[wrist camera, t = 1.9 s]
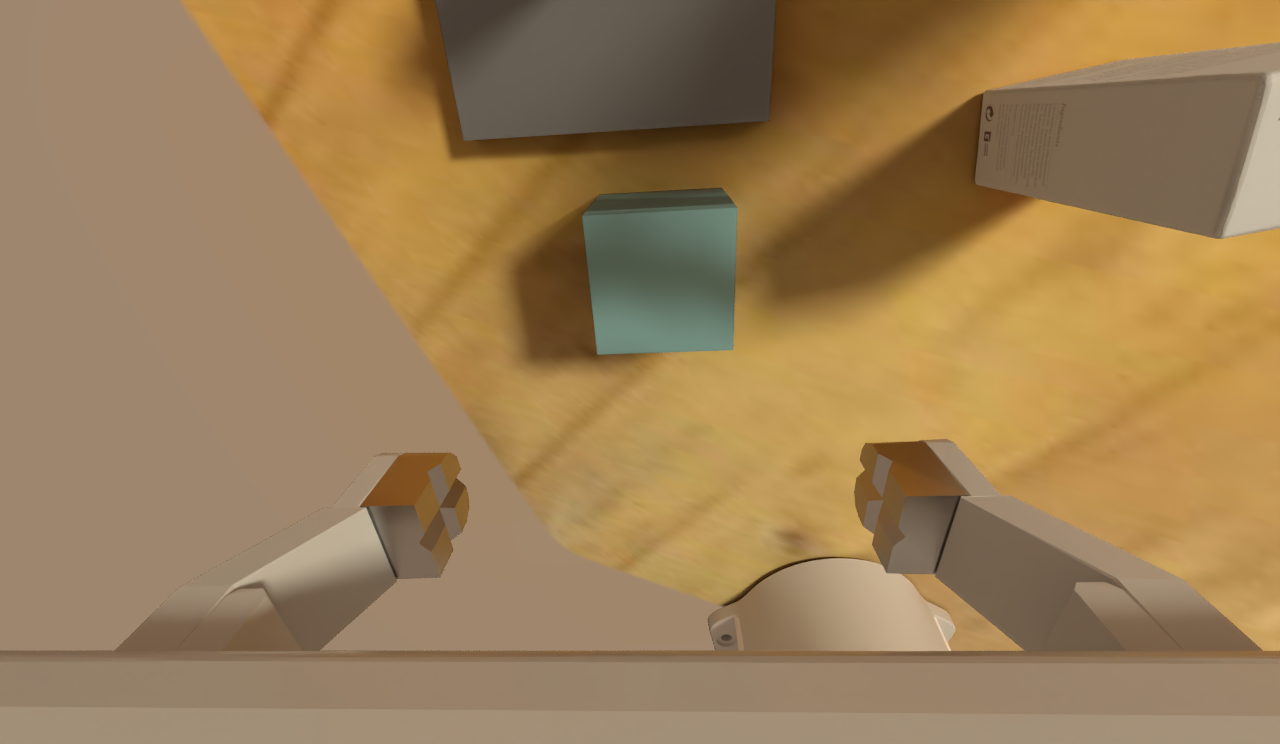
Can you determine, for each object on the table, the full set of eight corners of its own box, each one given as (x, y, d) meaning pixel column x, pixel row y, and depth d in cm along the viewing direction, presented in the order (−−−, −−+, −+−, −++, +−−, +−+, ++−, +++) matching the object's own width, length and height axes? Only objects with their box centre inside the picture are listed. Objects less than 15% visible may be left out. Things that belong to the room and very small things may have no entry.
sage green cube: (719, 304, 28) (732, 349, 22) (609, 309, 28) (597, 354, 23) (721, 187, 25) (737, 207, 19) (599, 194, 25) (581, 216, 20)
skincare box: (970, 187, 24) (1209, 244, 14) (979, 90, 22) (1266, 68, 12) (1107, 160, 23) (1474, 198, 13) (1128, 56, 21) (1581, -1, 11)
